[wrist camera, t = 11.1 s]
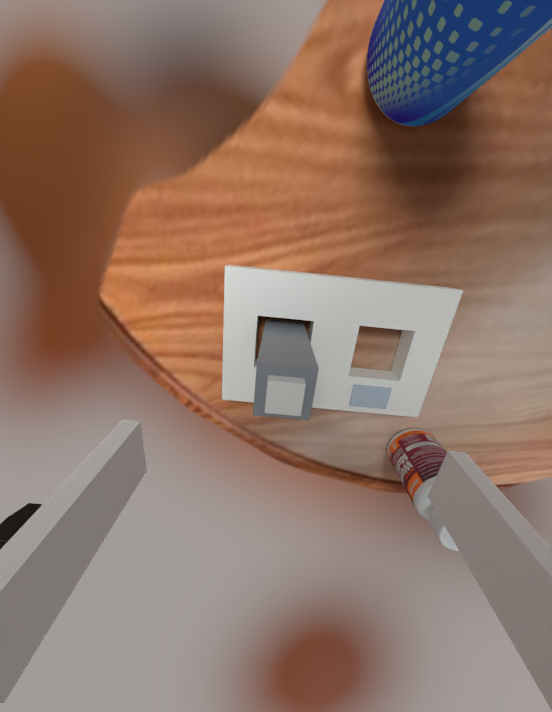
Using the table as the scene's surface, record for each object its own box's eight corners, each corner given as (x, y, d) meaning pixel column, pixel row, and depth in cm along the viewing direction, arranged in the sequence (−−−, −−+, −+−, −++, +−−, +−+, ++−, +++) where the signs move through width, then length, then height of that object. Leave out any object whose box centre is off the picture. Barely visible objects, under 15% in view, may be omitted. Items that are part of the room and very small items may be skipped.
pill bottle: (382, 433, 33) (429, 517, 23) (431, 420, 32) (504, 502, 22) (389, 468, 35) (436, 560, 25) (436, 457, 34) (505, 548, 24)
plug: (266, 318, 28) (255, 367, 16) (303, 322, 28) (320, 373, 16) (263, 353, 29) (251, 421, 17) (298, 356, 29) (310, 427, 17)
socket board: (229, 264, 26) (224, 266, 23) (447, 287, 26) (465, 290, 24) (226, 388, 31) (221, 400, 28) (407, 405, 31) (419, 418, 29)
